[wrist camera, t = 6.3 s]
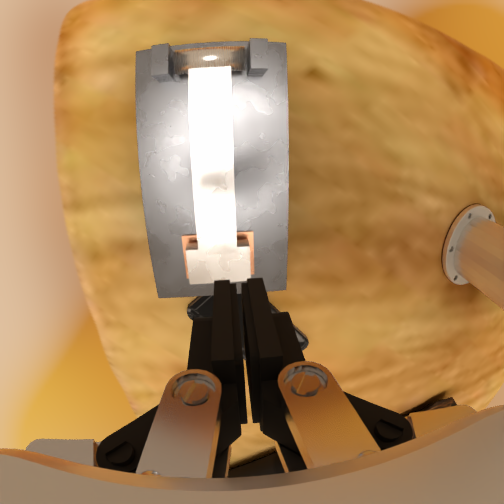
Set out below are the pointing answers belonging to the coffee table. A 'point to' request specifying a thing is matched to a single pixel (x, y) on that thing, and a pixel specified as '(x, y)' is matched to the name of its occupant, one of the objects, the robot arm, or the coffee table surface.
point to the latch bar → (213, 164)
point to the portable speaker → (259, 467)
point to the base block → (244, 155)
